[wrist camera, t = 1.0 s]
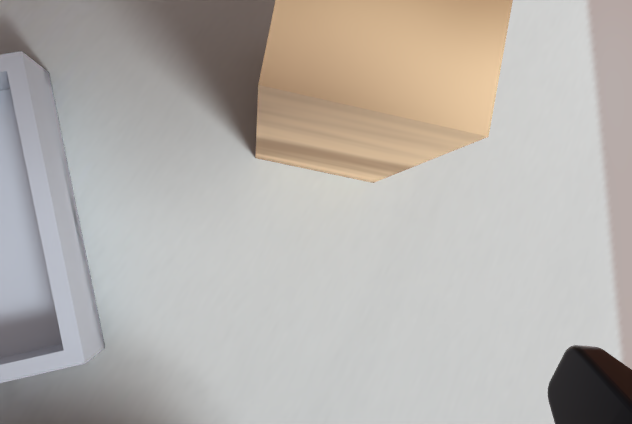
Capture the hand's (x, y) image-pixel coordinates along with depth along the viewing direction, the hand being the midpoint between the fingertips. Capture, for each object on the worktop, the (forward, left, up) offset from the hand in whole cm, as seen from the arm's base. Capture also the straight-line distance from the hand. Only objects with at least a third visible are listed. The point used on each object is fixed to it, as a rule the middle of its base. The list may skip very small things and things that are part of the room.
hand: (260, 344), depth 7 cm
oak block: (+6, -4, -14) cm, 16 cm away
